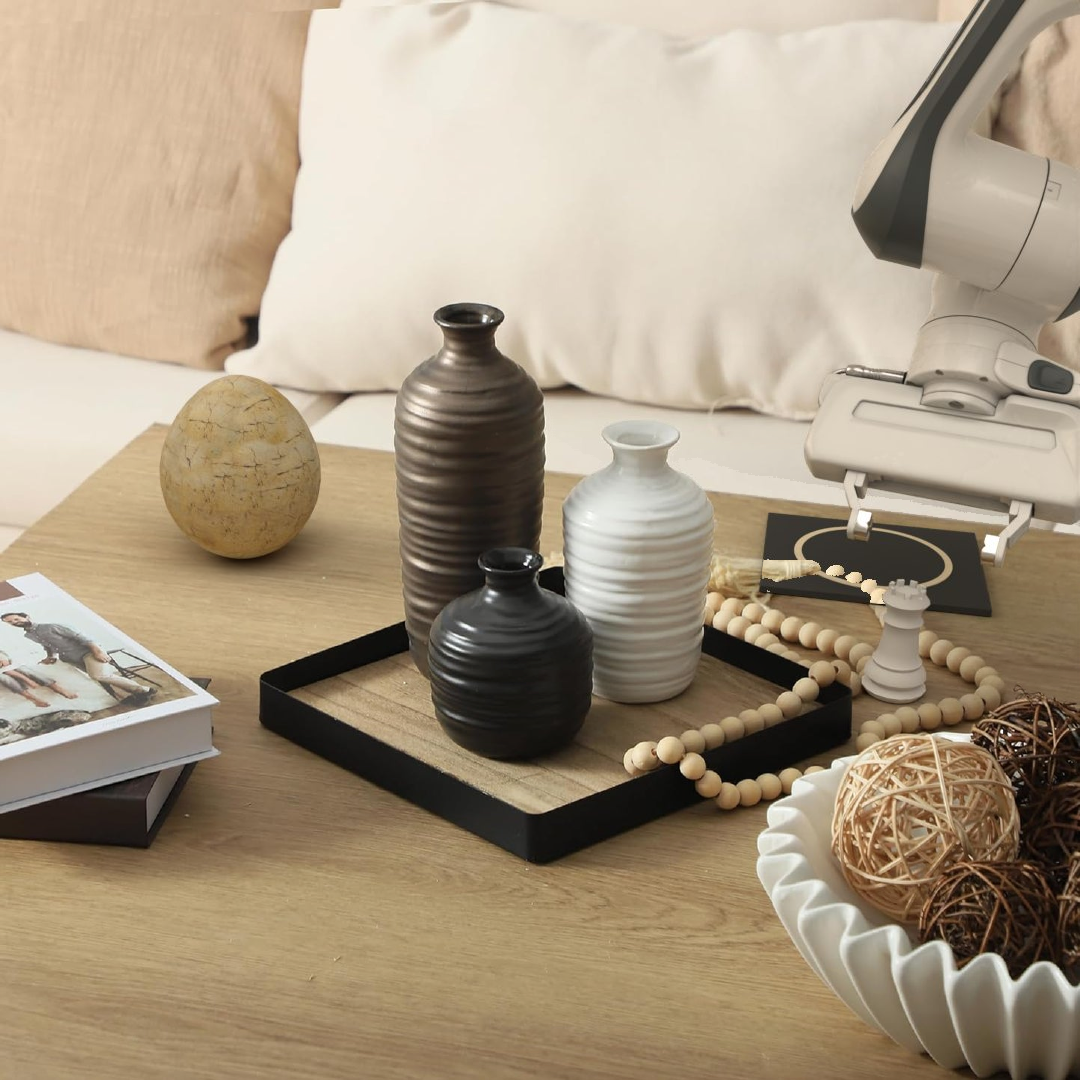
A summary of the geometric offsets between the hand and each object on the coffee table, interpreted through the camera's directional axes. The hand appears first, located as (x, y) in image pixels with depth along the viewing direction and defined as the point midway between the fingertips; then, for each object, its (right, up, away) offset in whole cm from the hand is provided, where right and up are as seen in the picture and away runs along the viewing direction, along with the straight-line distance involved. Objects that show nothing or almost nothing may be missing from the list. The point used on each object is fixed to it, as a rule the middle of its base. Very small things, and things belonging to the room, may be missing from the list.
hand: (922, 550), depth 104 cm
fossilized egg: (-51, 0, +17) cm, 54 cm away
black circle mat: (+1, -1, +19) cm, 19 cm away
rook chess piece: (-2, -10, -1) cm, 10 cm away
